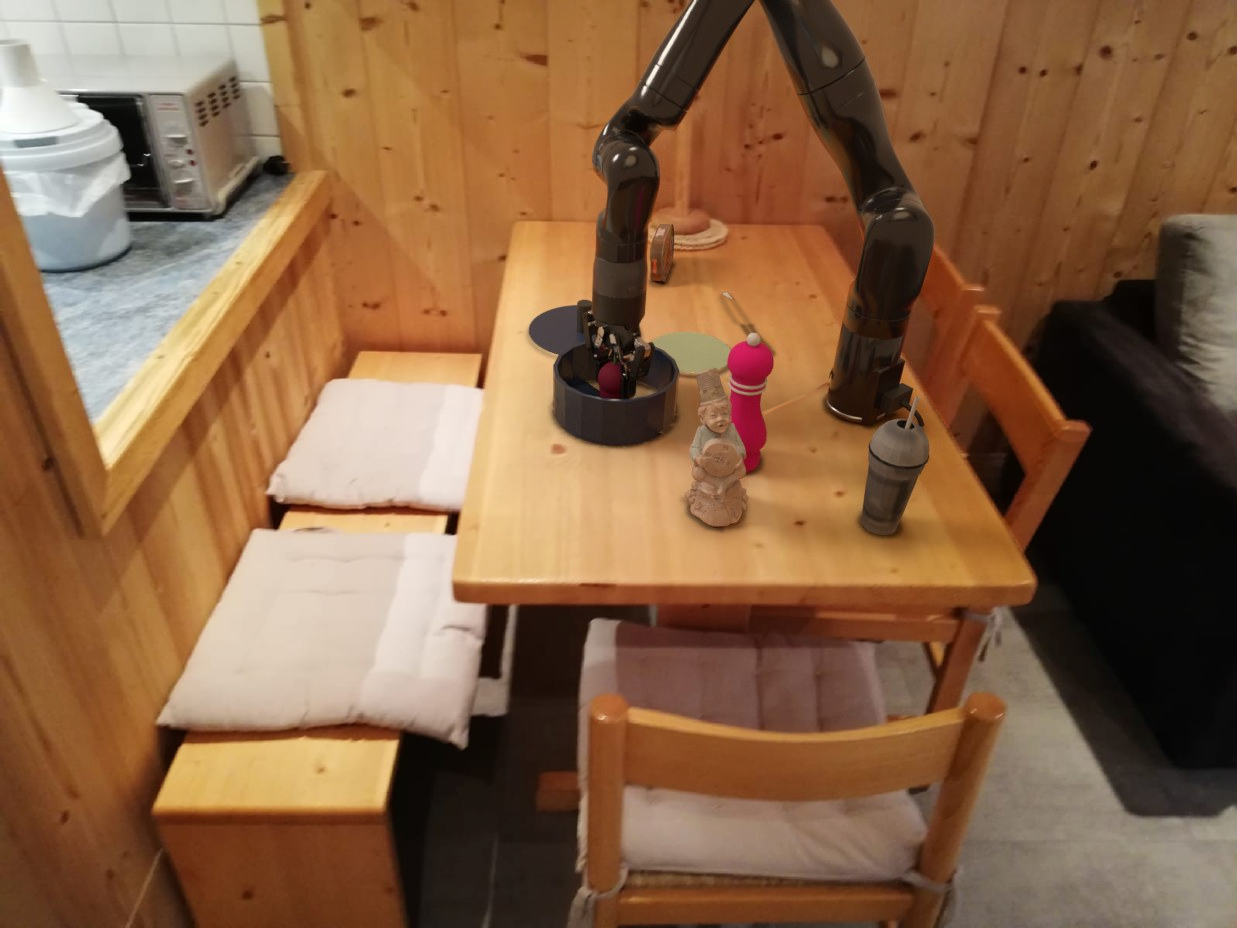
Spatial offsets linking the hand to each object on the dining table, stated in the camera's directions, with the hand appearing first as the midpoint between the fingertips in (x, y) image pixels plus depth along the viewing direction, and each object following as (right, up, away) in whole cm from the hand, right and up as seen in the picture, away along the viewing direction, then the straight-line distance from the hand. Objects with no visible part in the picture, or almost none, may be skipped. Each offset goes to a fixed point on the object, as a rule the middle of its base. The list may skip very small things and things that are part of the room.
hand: (614, 389), depth 135 cm
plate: (+13, +7, +17) cm, 22 cm away
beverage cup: (+34, -19, -17) cm, 43 cm away
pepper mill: (+17, -11, -7) cm, 21 cm away
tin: (+9, +26, +44) cm, 52 cm away
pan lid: (-5, +12, +21) cm, 25 cm away
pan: (0, -3, +2) cm, 4 cm away
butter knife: (+23, +14, +27) cm, 38 cm away
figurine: (+13, -17, -16) cm, 27 cm away
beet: (0, -1, 0) cm, 1 cm away
